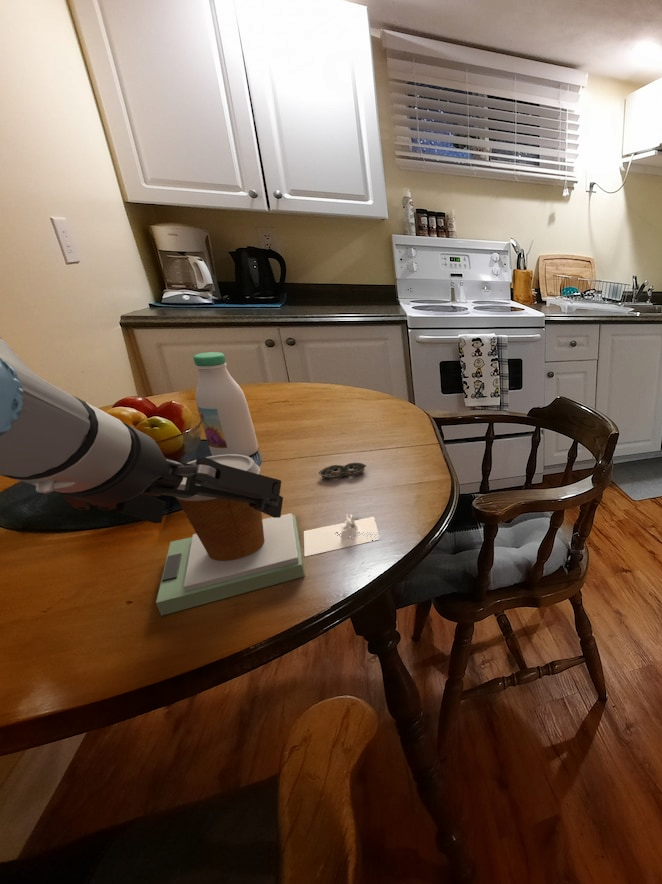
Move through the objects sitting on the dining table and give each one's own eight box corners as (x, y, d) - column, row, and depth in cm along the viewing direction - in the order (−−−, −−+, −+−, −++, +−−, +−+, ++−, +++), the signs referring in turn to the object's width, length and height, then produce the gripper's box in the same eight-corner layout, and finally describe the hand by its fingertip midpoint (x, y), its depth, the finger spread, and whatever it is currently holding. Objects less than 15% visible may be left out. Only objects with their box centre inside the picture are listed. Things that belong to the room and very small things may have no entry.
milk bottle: (256, 442, 103) (231, 347, 95) (262, 455, 98) (236, 356, 89) (210, 450, 98) (180, 352, 90) (214, 464, 93) (182, 361, 85)
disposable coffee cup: (206, 533, 69) (180, 456, 64) (284, 523, 72) (265, 449, 67) (181, 575, 61) (149, 491, 56) (270, 561, 64) (247, 481, 59)
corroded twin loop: (367, 476, 92) (366, 471, 91) (319, 483, 89) (318, 478, 88) (366, 465, 96) (365, 460, 95) (319, 471, 93) (318, 466, 92)
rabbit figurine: (359, 537, 75) (356, 519, 73) (341, 541, 74) (337, 523, 72) (357, 527, 77) (354, 509, 76) (339, 530, 76) (336, 513, 75)
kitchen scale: (174, 553, 69) (168, 536, 68) (297, 525, 77) (293, 510, 75) (161, 616, 58) (153, 597, 57) (304, 576, 66) (300, 559, 65)
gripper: (-104, 501, 40) (100, 544, 60) (236, 489, 44) (322, 533, 64) (-70, 417, 42) (115, 485, 62) (249, 414, 47) (328, 478, 67)
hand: (220, 510), depth 63 cm, fingers open, 13 cm apart
